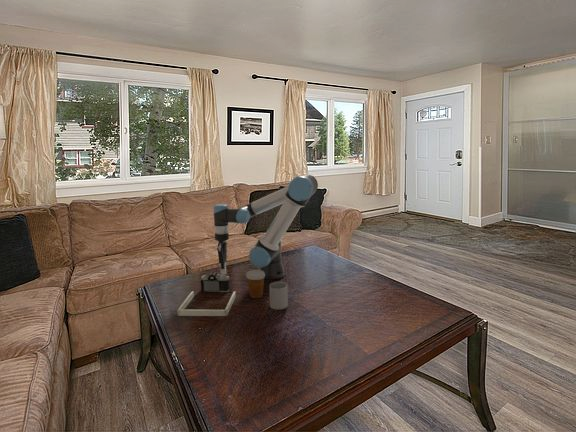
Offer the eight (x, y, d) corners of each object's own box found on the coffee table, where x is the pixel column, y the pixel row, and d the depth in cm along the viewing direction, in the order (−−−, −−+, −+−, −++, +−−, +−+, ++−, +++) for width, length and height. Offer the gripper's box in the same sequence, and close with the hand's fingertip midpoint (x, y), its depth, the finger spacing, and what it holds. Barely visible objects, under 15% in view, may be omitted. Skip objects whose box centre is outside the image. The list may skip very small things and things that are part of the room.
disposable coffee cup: (250, 301, 168) (250, 277, 166) (243, 294, 176) (242, 271, 174) (268, 297, 172) (268, 273, 170) (261, 290, 180) (260, 268, 178)
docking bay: (235, 296, 174) (235, 291, 173) (226, 316, 153) (226, 310, 153) (192, 296, 175) (191, 291, 174) (177, 315, 154) (176, 310, 154)
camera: (233, 286, 186) (232, 268, 184) (228, 293, 178) (227, 274, 176) (205, 285, 188) (204, 267, 186) (199, 292, 179) (198, 273, 178)
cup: (269, 302, 167) (269, 282, 165) (286, 301, 167) (286, 281, 165) (270, 310, 158) (269, 289, 156) (288, 309, 159) (288, 288, 157)
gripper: (217, 229, 198) (219, 269, 202) (211, 235, 185) (213, 277, 189) (231, 229, 197) (232, 269, 202) (225, 235, 185) (227, 277, 189)
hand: (223, 273), depth 196 cm, fingers closed
